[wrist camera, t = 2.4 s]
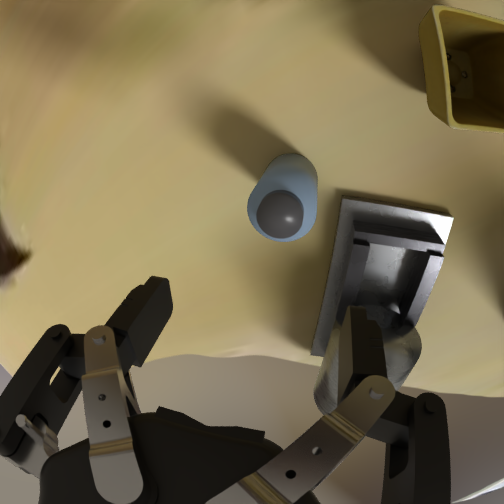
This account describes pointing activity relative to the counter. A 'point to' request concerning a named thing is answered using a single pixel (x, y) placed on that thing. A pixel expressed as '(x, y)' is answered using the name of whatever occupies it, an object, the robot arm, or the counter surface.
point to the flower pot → (464, 68)
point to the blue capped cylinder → (285, 199)
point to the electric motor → (379, 283)
